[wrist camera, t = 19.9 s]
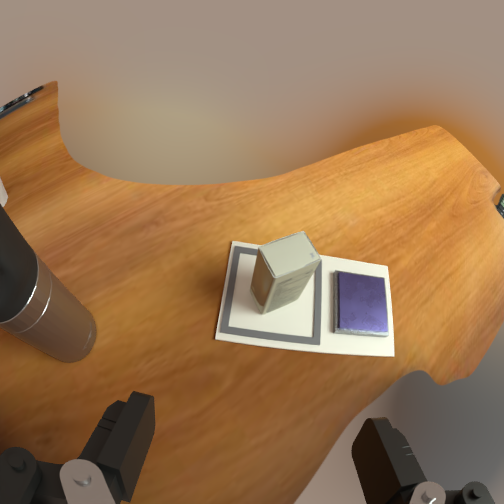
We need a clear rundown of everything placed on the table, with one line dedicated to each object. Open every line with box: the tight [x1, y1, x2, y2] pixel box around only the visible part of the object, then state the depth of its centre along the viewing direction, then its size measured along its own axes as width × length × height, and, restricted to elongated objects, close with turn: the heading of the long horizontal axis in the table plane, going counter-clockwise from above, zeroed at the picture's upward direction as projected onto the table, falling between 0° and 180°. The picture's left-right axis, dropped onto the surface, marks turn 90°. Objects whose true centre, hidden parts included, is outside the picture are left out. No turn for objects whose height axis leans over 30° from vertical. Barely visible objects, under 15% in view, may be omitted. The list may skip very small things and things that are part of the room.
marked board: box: [215, 241, 394, 357], centre depth 44 cm, size 27×16×1 cm, turn 83°
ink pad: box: [333, 270, 389, 337], centre depth 43 cm, size 9×10×2 cm
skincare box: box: [250, 231, 321, 315], centre depth 38 cm, size 6×4×12 cm
